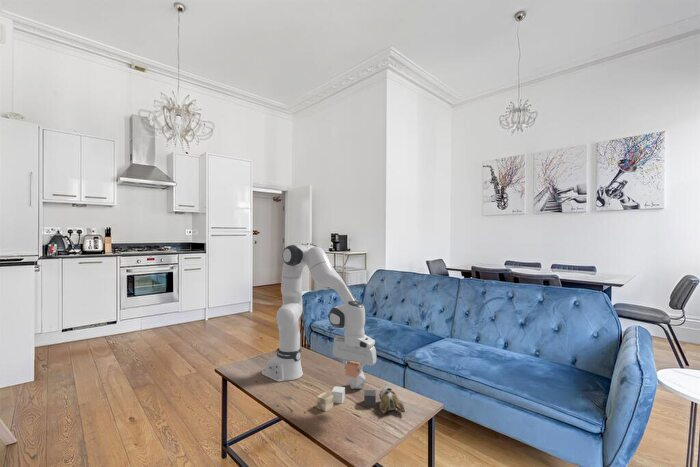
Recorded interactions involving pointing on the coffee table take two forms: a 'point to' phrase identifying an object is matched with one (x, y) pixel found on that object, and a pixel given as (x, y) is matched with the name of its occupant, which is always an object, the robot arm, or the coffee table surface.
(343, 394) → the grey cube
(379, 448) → the coffee table surface
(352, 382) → the die
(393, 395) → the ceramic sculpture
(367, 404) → the black cube
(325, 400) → the birch cube
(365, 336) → the robot arm
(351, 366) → the terracotta cube
